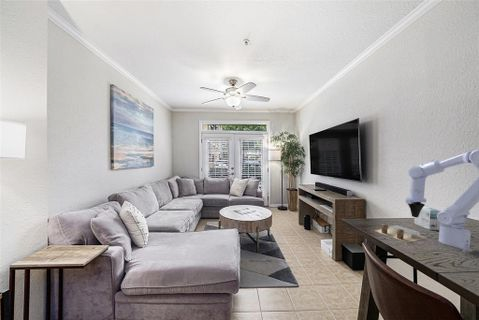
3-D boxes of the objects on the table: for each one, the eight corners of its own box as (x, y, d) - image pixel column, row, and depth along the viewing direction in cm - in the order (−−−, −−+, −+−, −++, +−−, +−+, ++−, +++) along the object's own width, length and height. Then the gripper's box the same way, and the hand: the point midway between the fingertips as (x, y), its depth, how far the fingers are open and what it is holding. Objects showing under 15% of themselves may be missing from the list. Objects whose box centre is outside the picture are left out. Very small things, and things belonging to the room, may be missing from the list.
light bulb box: (441, 230, 116) (443, 210, 115) (429, 230, 116) (430, 210, 115) (425, 224, 126) (426, 206, 126) (413, 223, 126) (414, 205, 126)
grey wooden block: (419, 236, 102) (419, 232, 102) (411, 238, 99) (411, 233, 99) (396, 229, 111) (397, 225, 111) (388, 230, 108) (388, 226, 108)
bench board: (426, 240, 101) (427, 229, 100) (407, 244, 94) (408, 233, 94) (392, 229, 114) (393, 219, 114) (373, 232, 107) (374, 222, 107)
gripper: (415, 188, 115) (413, 213, 116) (399, 189, 109) (397, 215, 110) (431, 191, 109) (429, 217, 109) (416, 191, 103) (413, 219, 103)
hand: (414, 216), depth 109 cm, fingers closed
